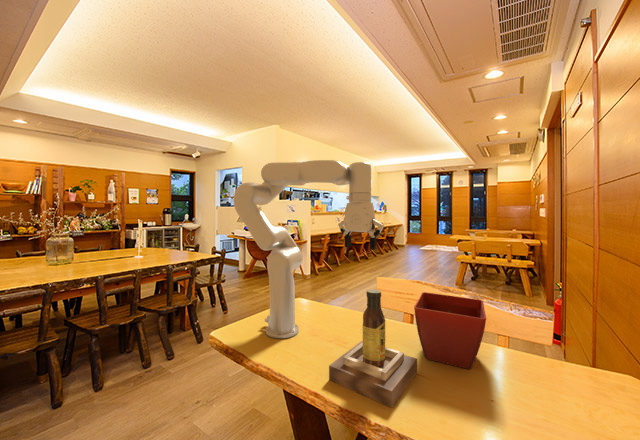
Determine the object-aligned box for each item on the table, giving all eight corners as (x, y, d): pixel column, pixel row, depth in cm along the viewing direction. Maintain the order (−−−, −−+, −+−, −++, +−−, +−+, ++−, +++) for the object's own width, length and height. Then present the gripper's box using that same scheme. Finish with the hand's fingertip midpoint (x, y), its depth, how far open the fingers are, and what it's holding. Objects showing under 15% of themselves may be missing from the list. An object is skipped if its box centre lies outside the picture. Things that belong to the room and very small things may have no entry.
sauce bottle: (385, 369, 74) (386, 295, 73) (361, 367, 75) (362, 294, 74) (384, 356, 80) (385, 288, 80) (362, 354, 81) (363, 287, 81)
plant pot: (482, 349, 93) (483, 299, 92) (485, 379, 76) (486, 318, 76) (422, 337, 102) (422, 291, 101) (412, 361, 85) (413, 307, 85)
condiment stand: (329, 379, 76) (329, 358, 76) (361, 353, 90) (361, 334, 90) (391, 408, 65) (391, 382, 65) (417, 372, 79) (417, 351, 79)
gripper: (333, 199, 98) (333, 247, 99) (378, 197, 88) (378, 251, 88) (344, 199, 104) (344, 245, 105) (388, 198, 94) (387, 249, 94)
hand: (359, 248), depth 96 cm, fingers open, 9 cm apart
